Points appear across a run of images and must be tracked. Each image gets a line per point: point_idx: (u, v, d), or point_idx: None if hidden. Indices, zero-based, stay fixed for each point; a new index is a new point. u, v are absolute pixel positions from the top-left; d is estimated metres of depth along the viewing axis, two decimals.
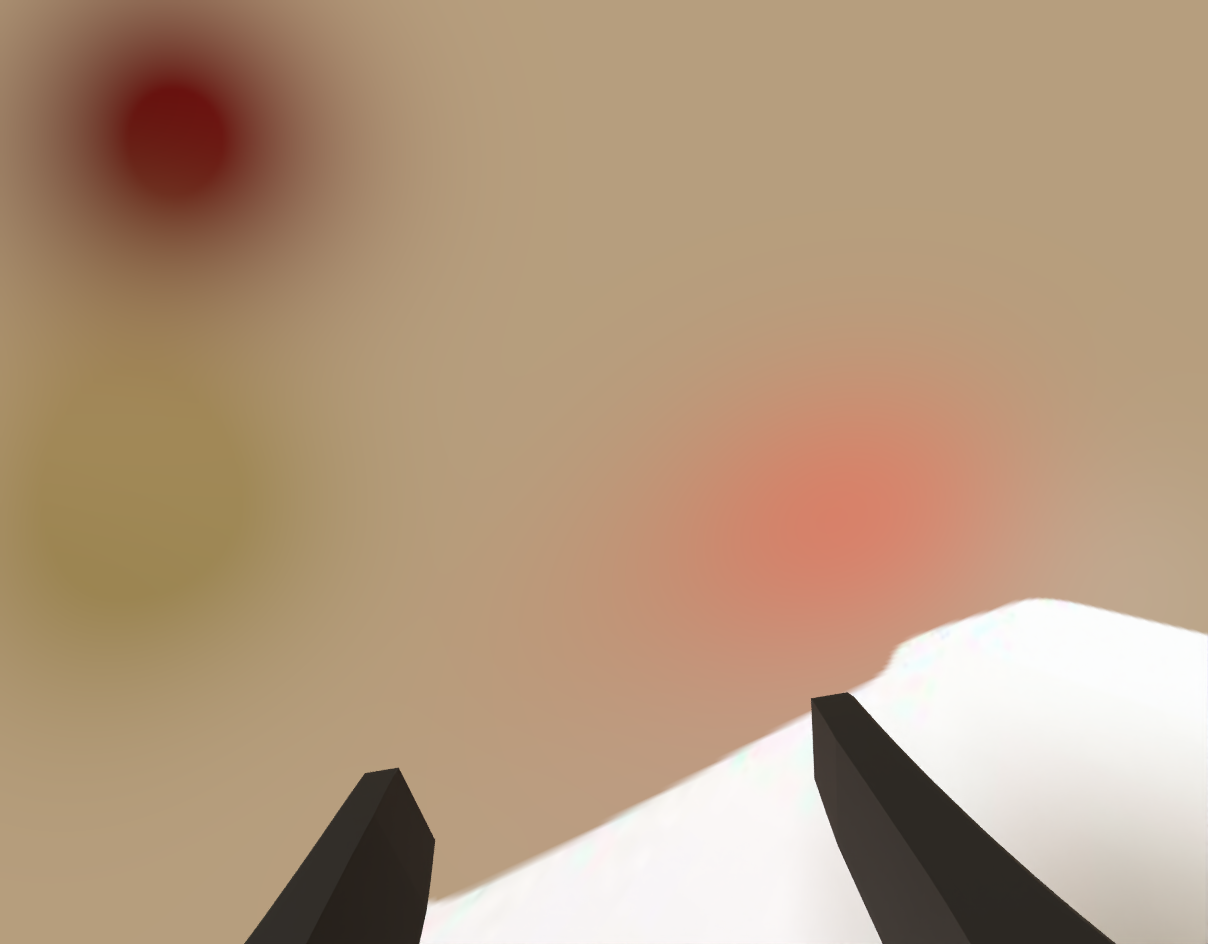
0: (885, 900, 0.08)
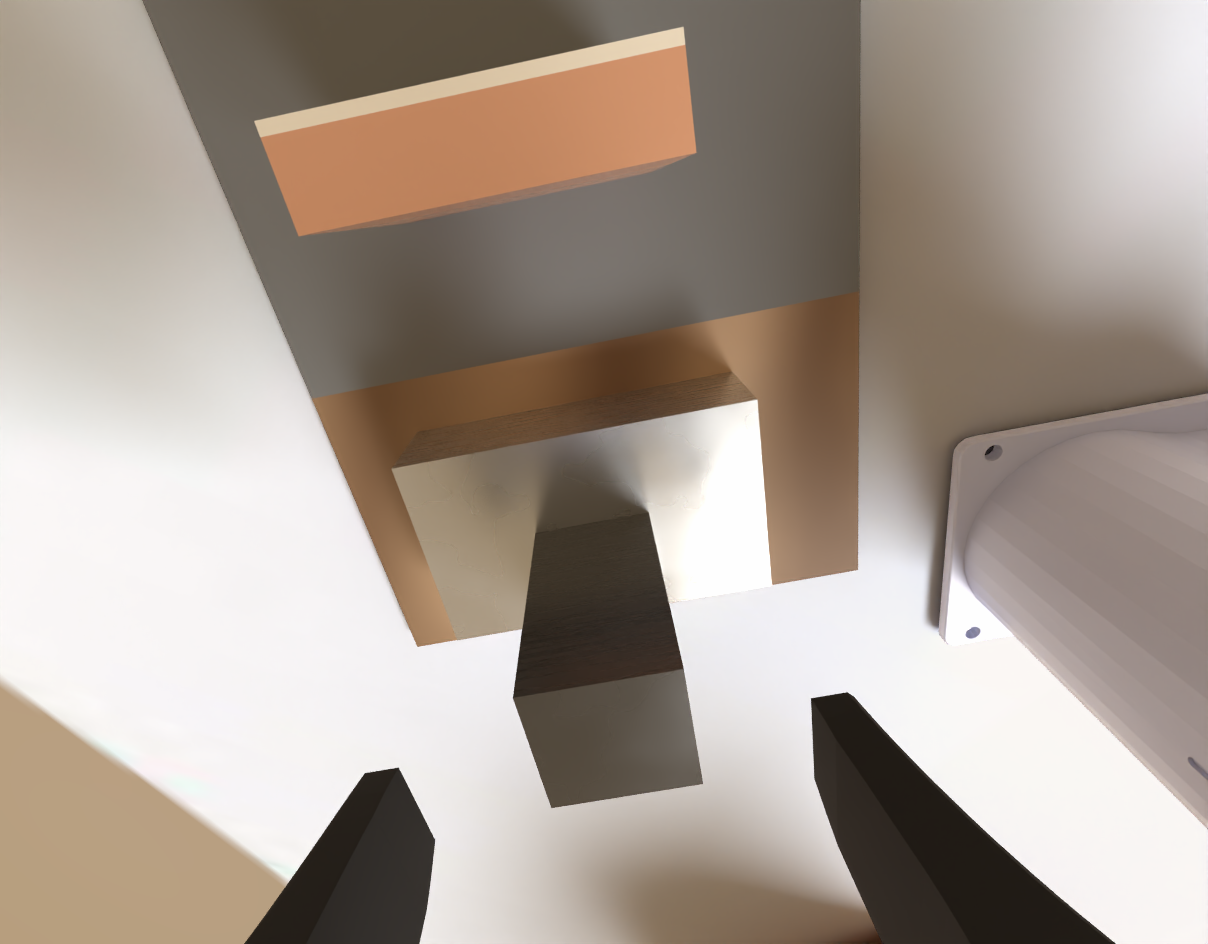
0: (885, 900, 0.08)
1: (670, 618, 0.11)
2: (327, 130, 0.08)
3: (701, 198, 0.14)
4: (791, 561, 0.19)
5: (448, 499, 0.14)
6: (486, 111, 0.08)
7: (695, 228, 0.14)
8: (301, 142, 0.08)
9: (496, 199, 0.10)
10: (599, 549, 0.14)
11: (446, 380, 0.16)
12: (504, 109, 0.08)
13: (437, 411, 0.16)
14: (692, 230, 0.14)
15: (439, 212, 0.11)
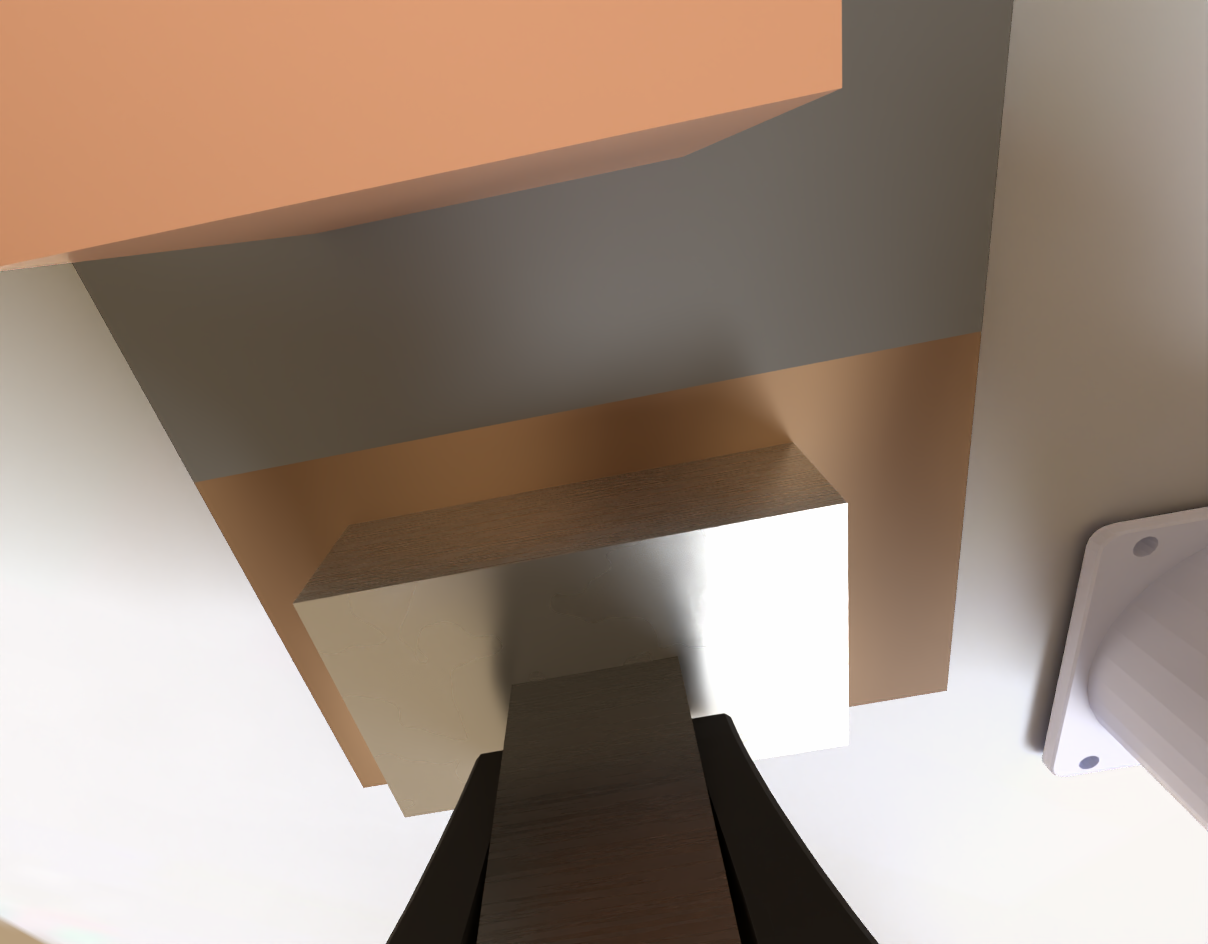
0: (738, 922, 0.08)
1: (734, 926, 0.06)
2: None
3: (759, 195, 0.09)
4: (859, 681, 0.14)
5: (381, 644, 0.10)
6: None
7: (748, 241, 0.10)
8: None
9: (422, 196, 0.06)
10: (606, 730, 0.09)
11: (386, 457, 0.11)
12: None
13: (375, 498, 0.11)
14: (743, 244, 0.10)
15: (330, 219, 0.06)
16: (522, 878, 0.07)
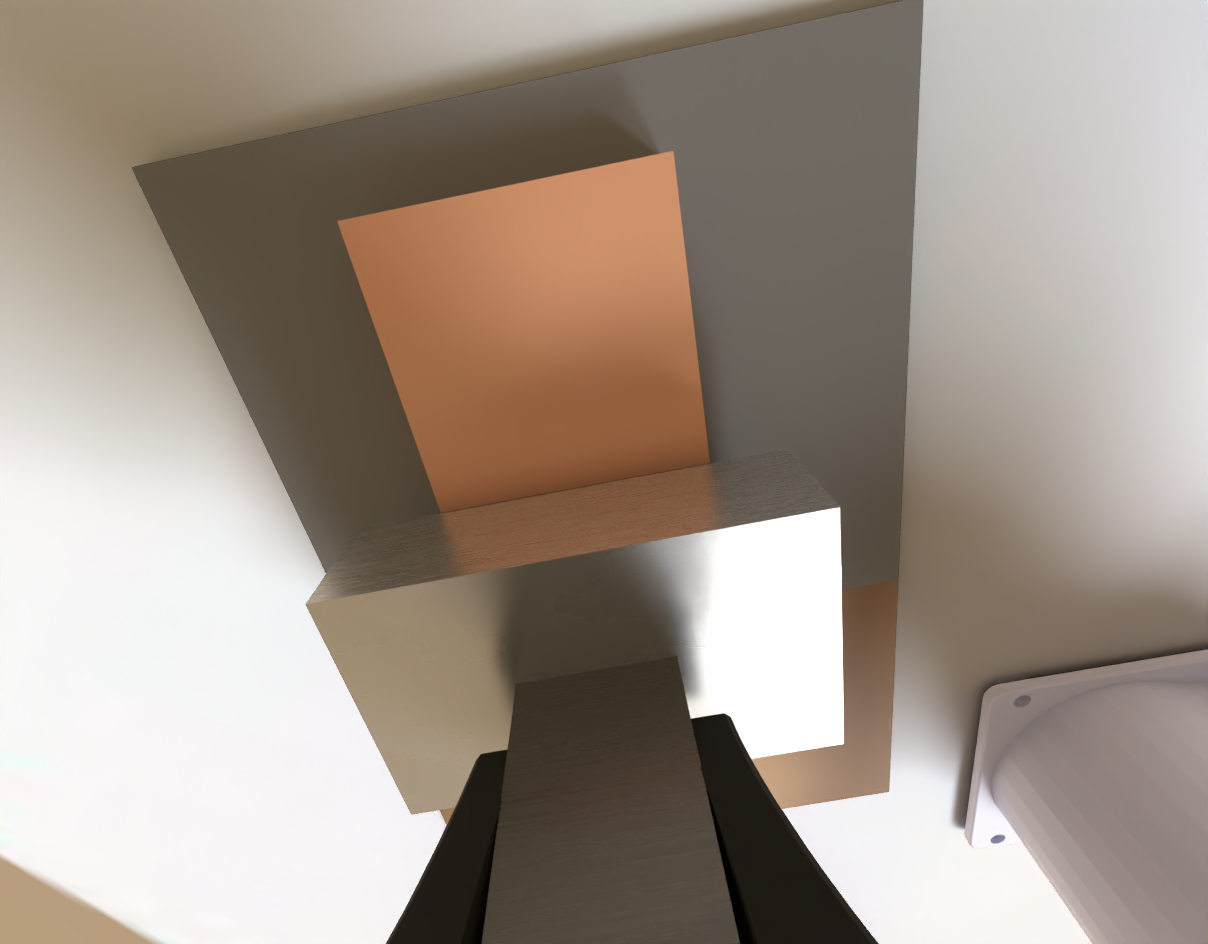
0: (738, 922, 0.08)
1: (729, 910, 0.07)
2: None
3: None
4: (825, 786, 0.19)
5: (390, 644, 0.10)
6: None
7: None
8: None
9: (519, 314, 0.11)
10: (608, 727, 0.09)
11: None
12: None
13: None
14: None
15: (466, 357, 0.11)
16: (527, 867, 0.08)
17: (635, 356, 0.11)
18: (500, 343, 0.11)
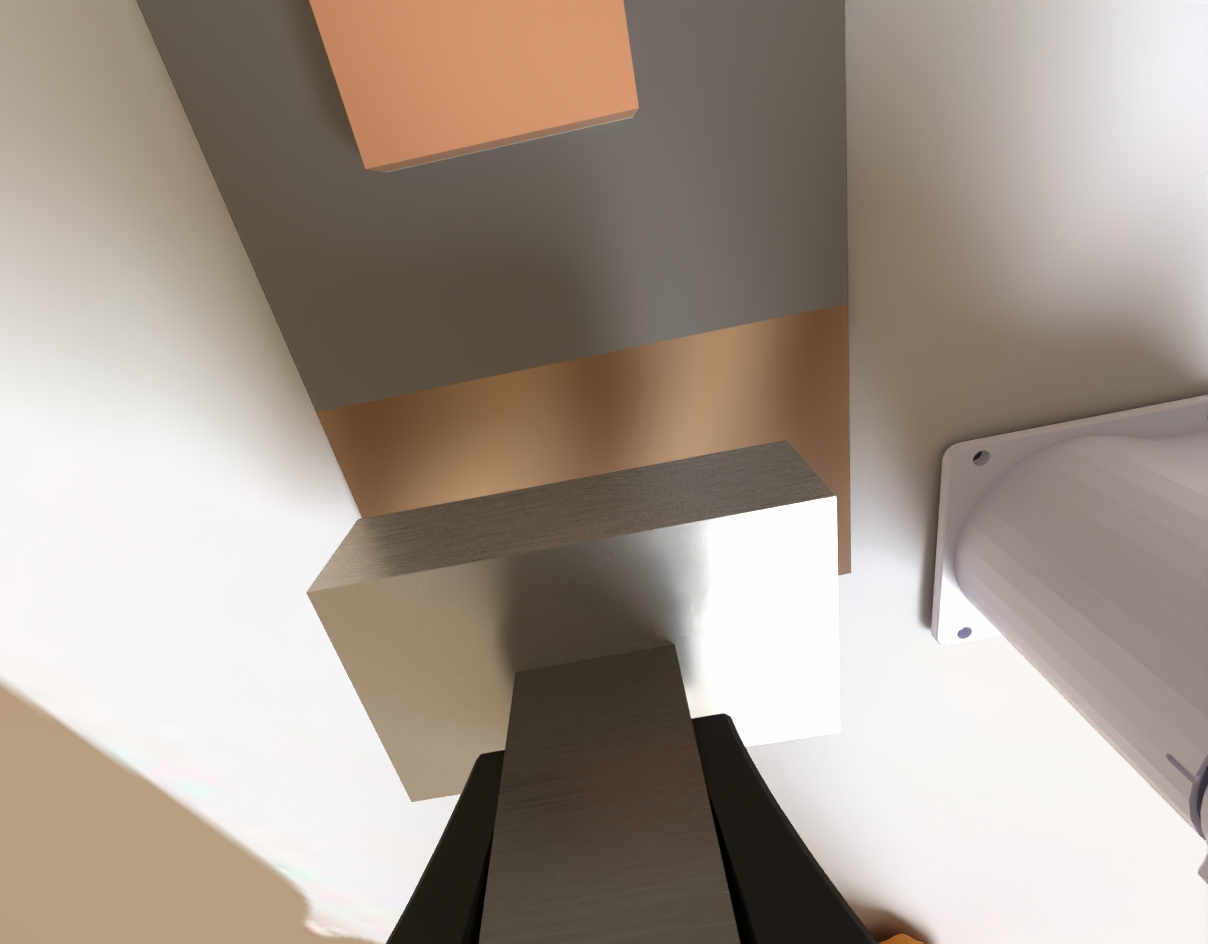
0: (738, 922, 0.08)
1: (725, 889, 0.07)
2: None
3: (693, 215, 0.14)
4: None
5: (391, 631, 0.10)
6: None
7: (688, 244, 0.15)
8: None
9: None
10: (606, 713, 0.09)
11: (447, 393, 0.16)
12: None
13: (438, 423, 0.16)
14: (685, 246, 0.15)
15: None
16: (526, 849, 0.08)
17: None
18: None
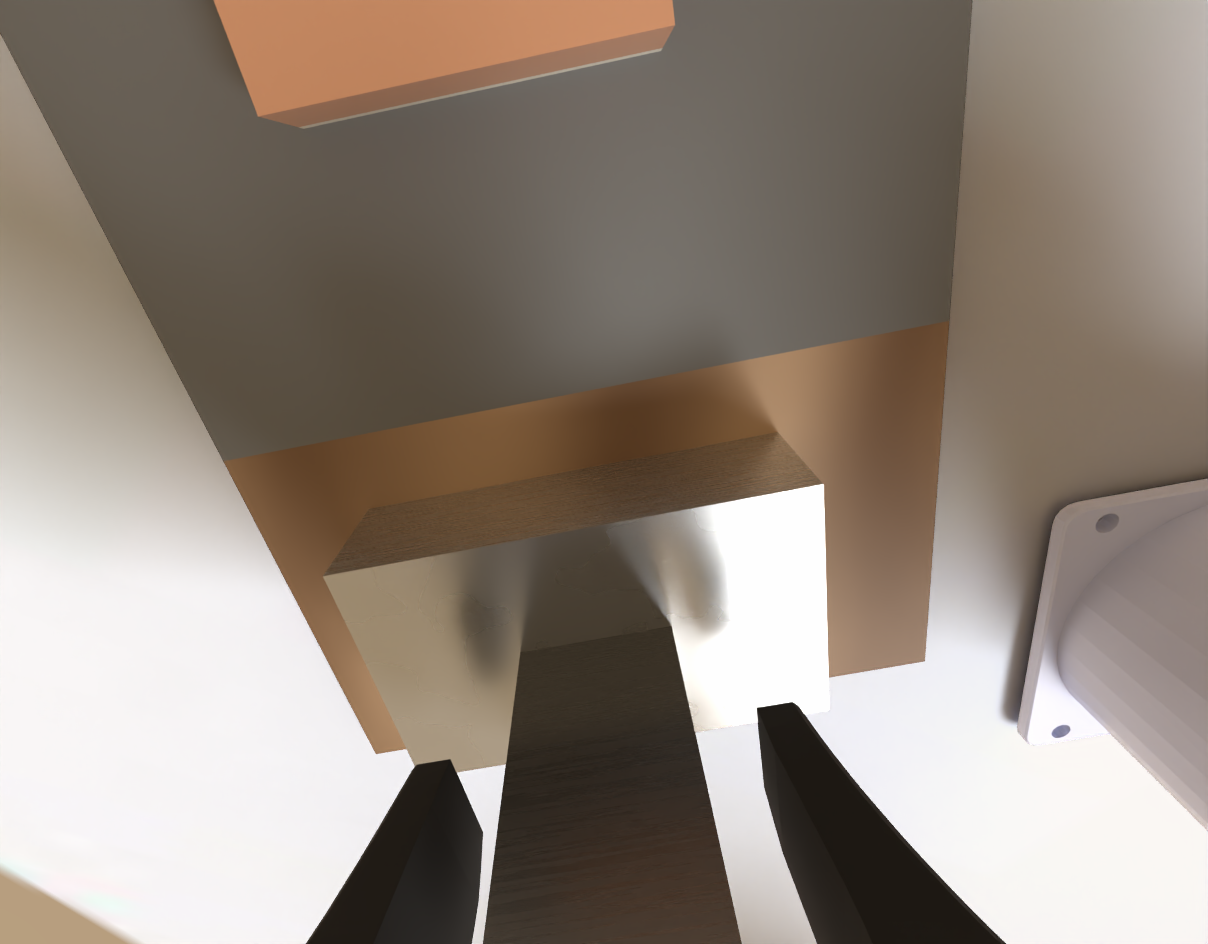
0: (819, 909, 0.08)
1: (717, 844, 0.07)
2: None
3: (743, 196, 0.10)
4: (842, 652, 0.15)
5: (402, 614, 0.11)
6: None
7: (733, 237, 0.10)
8: None
9: None
10: (606, 690, 0.10)
11: (400, 437, 0.12)
12: None
13: (390, 476, 0.12)
14: (729, 240, 0.11)
15: None
16: (532, 811, 0.08)
17: None
18: None
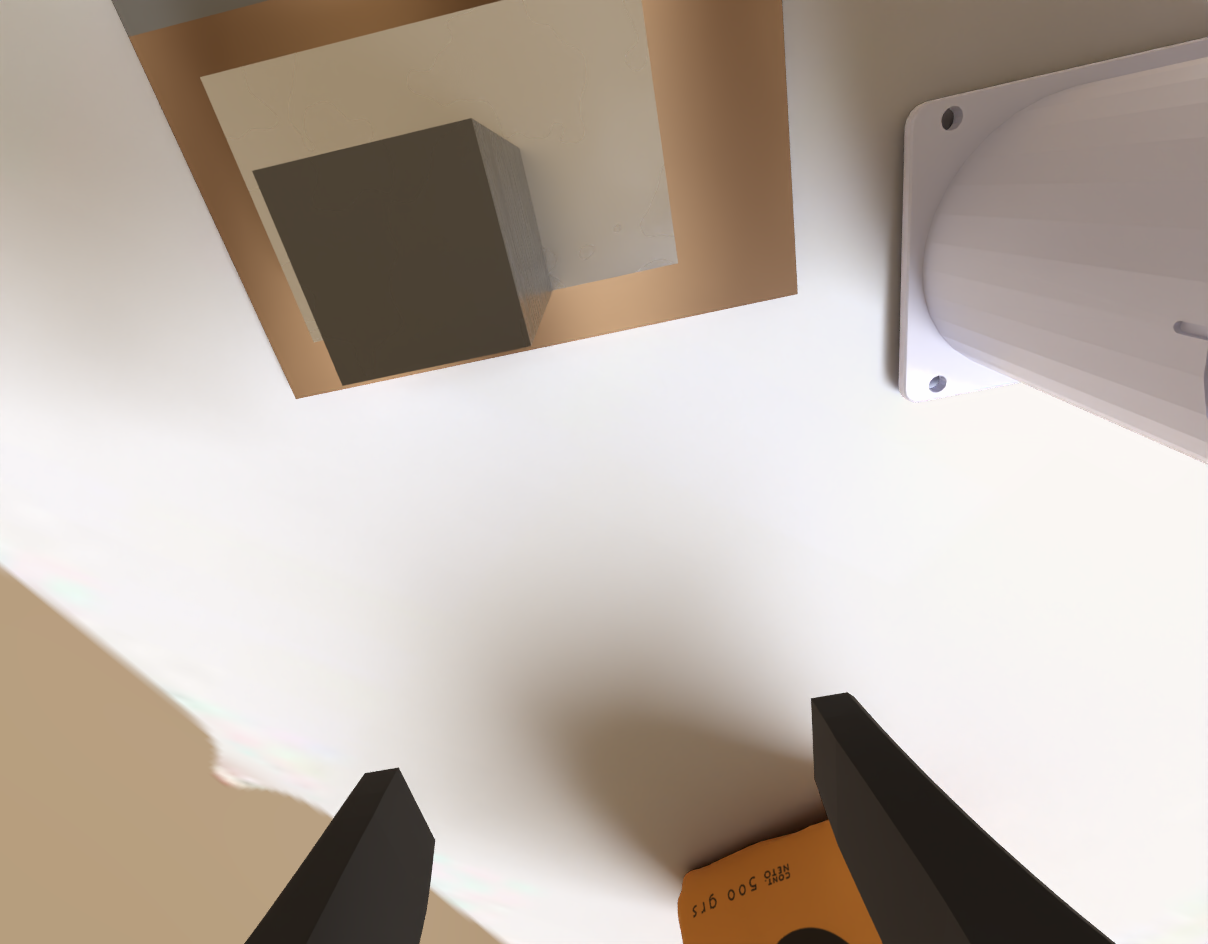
0: (885, 899, 0.08)
1: None
2: None
3: None
4: (718, 281, 0.16)
5: (275, 127, 0.12)
6: None
7: None
8: None
9: None
10: None
11: (284, 9, 0.13)
12: None
13: (279, 56, 0.14)
14: None
15: None
16: None
17: None
18: None
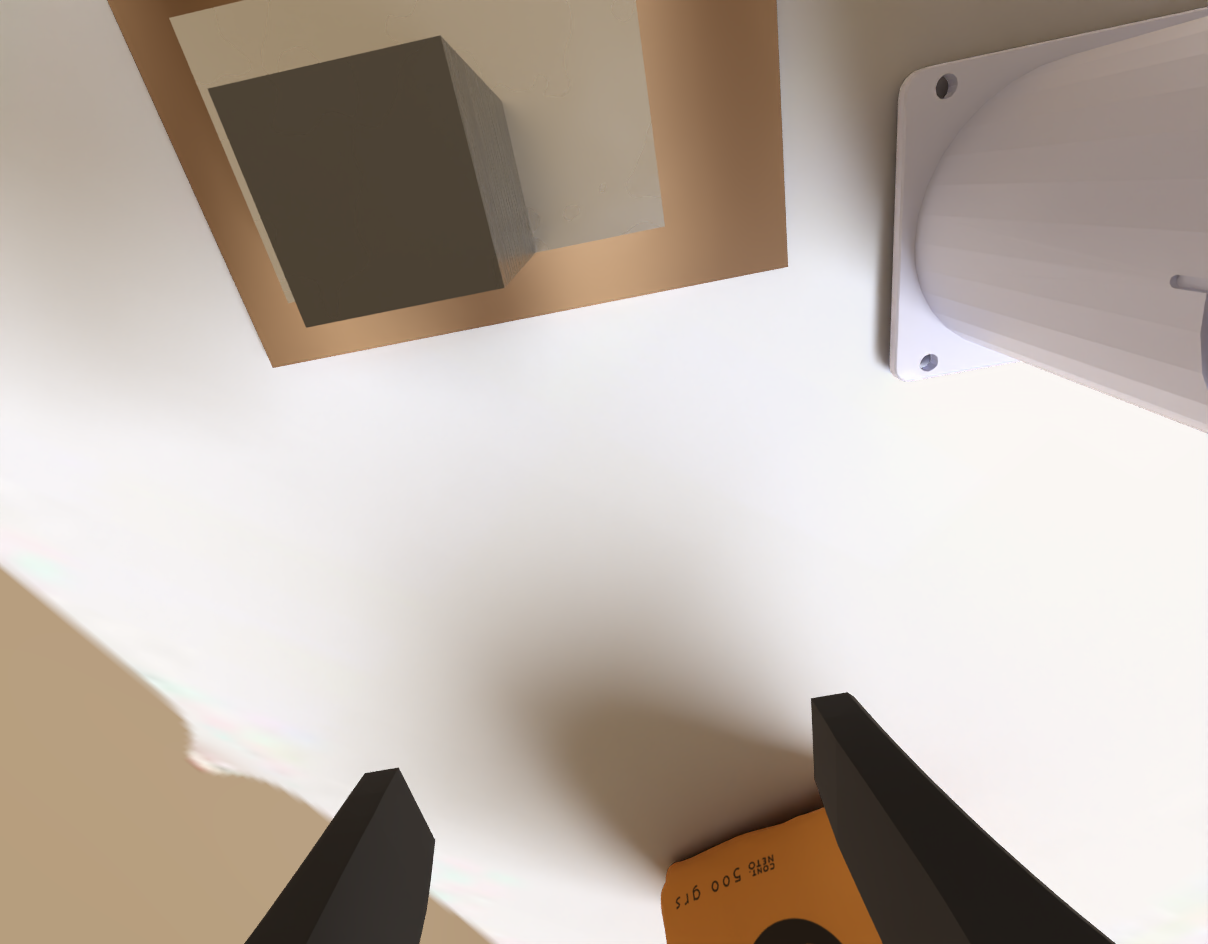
0: (884, 899, 0.08)
1: None
2: None
3: None
4: (707, 251, 0.16)
5: (248, 73, 0.12)
6: None
7: None
8: None
9: None
10: None
11: None
12: None
13: None
14: None
15: None
16: None
17: None
18: None
